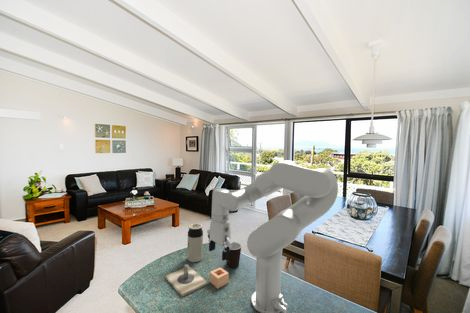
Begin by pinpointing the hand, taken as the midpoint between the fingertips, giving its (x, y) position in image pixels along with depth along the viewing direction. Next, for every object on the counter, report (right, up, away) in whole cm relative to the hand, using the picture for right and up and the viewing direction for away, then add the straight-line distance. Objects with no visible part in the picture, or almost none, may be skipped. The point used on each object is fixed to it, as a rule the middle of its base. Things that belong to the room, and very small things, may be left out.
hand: (218, 254), depth 94 cm
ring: (0, -13, 0) cm, 12 cm away
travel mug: (-14, -12, +20) cm, 27 cm away
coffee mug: (+6, -12, +16) cm, 21 cm away
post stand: (-15, -12, 0) cm, 19 cm away
